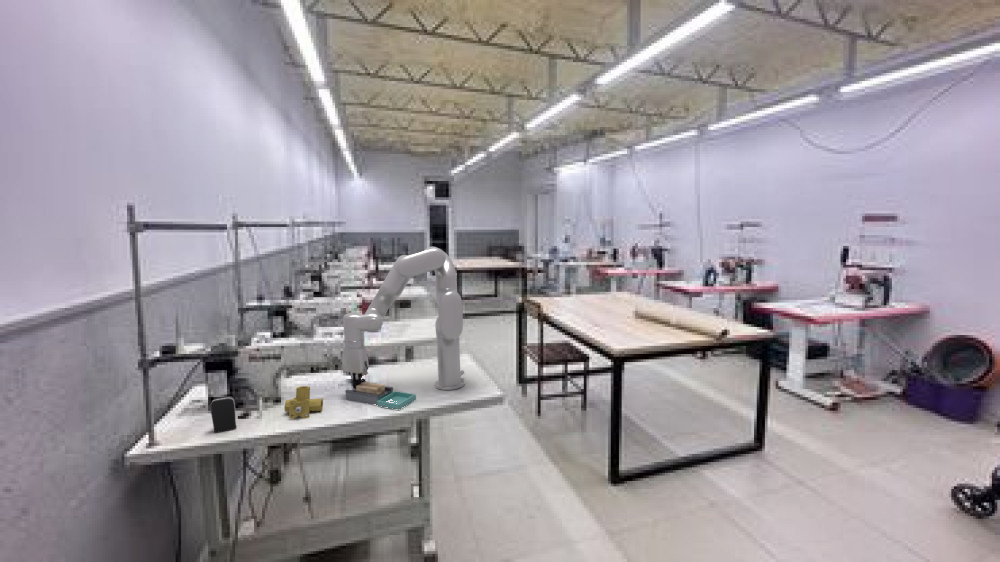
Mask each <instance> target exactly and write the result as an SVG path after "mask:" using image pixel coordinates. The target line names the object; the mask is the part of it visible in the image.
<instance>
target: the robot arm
mask: <svg viewBox="0 0 1000 562" xmlns="http://www.w3.org/2000/svg"><path fill="white" fill-rule="evenodd" d="M433 271H434V275H435V290H436V291H435V292H436V293H435V302H436V305H437V307H438V316H437V318H436V319H435V327H434V328H435V336H436V338H435V339H436V350H437V351H436V353H437V357H436V358H437V374H438V375H437V377H438V378H437V380H436V381H435V383H434V386H435V388H436V389H439V390H441V391H454V390H458V389H460V388H463V386H465V380H464V379H463V378H462V376H463V375H465V371H464V370H461V353H460V352H461V351H460V350H461V349H460V345H461V344H460V336H461V334H462V332H463V329H464V327H463V325H464V324H463V323H464V320H463V319H464V318H463V301H462V297H461V295H460V293H459V292H458V288H457V272H456V267H455V264H454V261H453V260H452V259H451V258H450V255H448V254H447V253H446V252H445V251H444V250H443V249H442V248H438V247H436V246H428V247H426V248H425V249H424V250H423V251H420V252H416V253H413V254H409V255H408V254H402V255H399V256H398V257H397V259H396V260H395V262H394V263H393V265H392V267H391V268H390V270H389V272H388V274H387V275H386V277H385V279H384V280H383V281H382V284H381V285H380V287H379V289H378V291H377V293H376V294H375V295H374V298H373V299H372V301H371V303H370V304H369V306H368V308H367V309H366V311H365V313H364V314H362V313H360V312H349V313H346V314H344V315H343V317H342V322H343V336H344V337H343V338H344V340H343V343H344V346H343V348H342V359H341V360H342V361H341V363H342V364H341V365H342V370H343V371H344V372H345V373H346V374H349V376H350V379H353V380H352V389H356V386H357V385H359V384H361V382H362V381H361V378H362V376H364V375H365V376H367V375H368V374H369V372H368V370H369V367H370V366H369V358H368V357H369V356H368V351H367V347H366V346H365V332H369V333H371V332H372V333H373V332H377V331H379V330H380V329H382V326H384V325H383V323H384V321H383V319H384V318H385V316H386V314H387V312H388V310H389V309H390V307H391V306H392V304H393V303H394V302H395V301H396V300H397V299H399V298H400V296H401V295H402V294H403V291H404V290H405V288H406V286H407V285H408V283H409V281H410V279H411V278H413V277H416V276H417V277H418V276H420V275H423V274H426V273H429V272H433Z"/></svg>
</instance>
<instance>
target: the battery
mask: <svg viewBox="0 0 1000 562" xmlns="http://www.w3.org/2000/svg"><path fill="white" fill-rule="evenodd" d="M236 414H237V413H236V402H235V398H234V397H233V396H231V395H229V396H221V397H216V398H214V399H213V400H212V401H211V403H210V415H211V418H212V426H213V433H221V431H222V432H226V430H227V431H230V430H231V429H232V430H235V428H236V429H237V419H236ZM232 430H231V431H232Z"/></svg>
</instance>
